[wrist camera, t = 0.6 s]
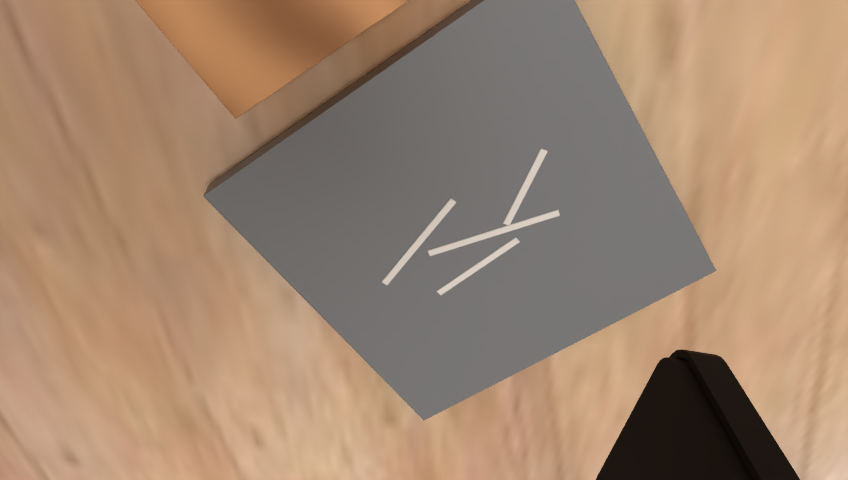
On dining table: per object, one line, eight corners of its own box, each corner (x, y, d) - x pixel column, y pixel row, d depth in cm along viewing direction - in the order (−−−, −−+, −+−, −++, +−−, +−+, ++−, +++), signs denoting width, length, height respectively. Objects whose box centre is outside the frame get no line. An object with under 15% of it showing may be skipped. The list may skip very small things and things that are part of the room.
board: (423, 404, 47) (424, 421, 46) (209, 184, 37) (202, 196, 36) (706, 257, 41) (716, 271, 40) (543, -50, 31) (550, -46, 30)
